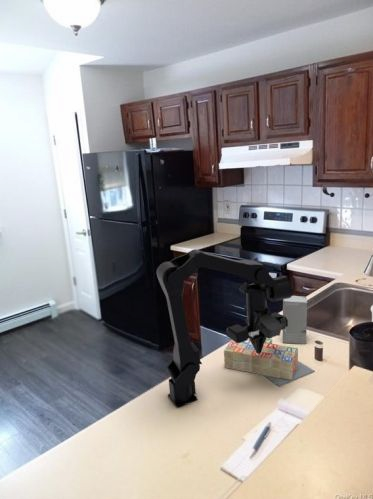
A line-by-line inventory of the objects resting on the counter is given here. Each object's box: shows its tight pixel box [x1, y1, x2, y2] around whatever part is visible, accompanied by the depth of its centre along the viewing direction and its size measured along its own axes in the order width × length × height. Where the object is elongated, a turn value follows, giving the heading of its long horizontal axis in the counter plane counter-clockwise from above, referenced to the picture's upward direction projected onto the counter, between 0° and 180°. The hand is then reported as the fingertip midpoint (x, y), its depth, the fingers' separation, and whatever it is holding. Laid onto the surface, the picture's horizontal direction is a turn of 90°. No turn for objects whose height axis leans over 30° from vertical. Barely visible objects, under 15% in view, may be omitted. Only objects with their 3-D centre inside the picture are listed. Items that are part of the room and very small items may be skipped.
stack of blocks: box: [223, 338, 299, 380], centre depth 119 cm, size 21×6×12 cm
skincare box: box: [282, 295, 308, 345], centre depth 133 cm, size 8×7×16 cm
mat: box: [262, 360, 315, 388], centre depth 118 cm, size 14×16×1 cm
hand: (258, 353), depth 112 cm, fingers closed
